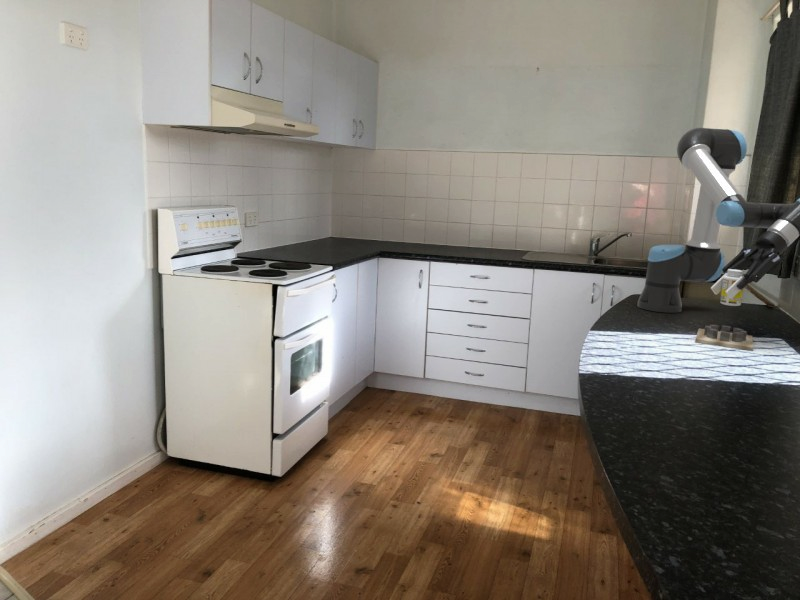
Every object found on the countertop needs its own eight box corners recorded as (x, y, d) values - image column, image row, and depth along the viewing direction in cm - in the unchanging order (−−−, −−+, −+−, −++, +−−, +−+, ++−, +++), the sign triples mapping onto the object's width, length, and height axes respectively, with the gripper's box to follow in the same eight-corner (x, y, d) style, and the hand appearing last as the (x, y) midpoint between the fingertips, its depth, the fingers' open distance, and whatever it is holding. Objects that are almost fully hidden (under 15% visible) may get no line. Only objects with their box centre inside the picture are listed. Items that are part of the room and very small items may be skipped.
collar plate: (695, 342, 194) (696, 330, 194) (698, 331, 209) (699, 320, 209) (752, 350, 188) (754, 338, 187) (751, 339, 203) (753, 327, 202)
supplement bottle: (744, 305, 196) (749, 271, 194) (735, 307, 193) (740, 272, 191) (725, 302, 200) (730, 268, 198) (716, 303, 197) (721, 269, 195)
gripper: (808, 252, 188) (750, 308, 187) (759, 244, 206) (706, 296, 205) (795, 232, 186) (736, 289, 185) (747, 226, 203) (693, 279, 203)
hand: (720, 293), depth 195 cm, fingers closed on supplement bottle, 5 cm apart
